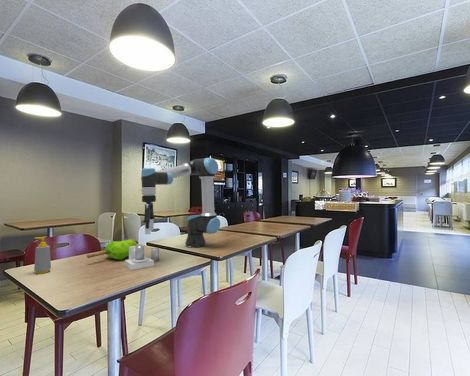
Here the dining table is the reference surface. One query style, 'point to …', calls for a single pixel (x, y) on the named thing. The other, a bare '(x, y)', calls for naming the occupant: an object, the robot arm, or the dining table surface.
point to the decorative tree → (117, 249)
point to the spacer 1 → (139, 252)
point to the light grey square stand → (137, 261)
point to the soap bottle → (42, 257)
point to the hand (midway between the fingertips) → (149, 232)
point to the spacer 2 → (155, 254)
